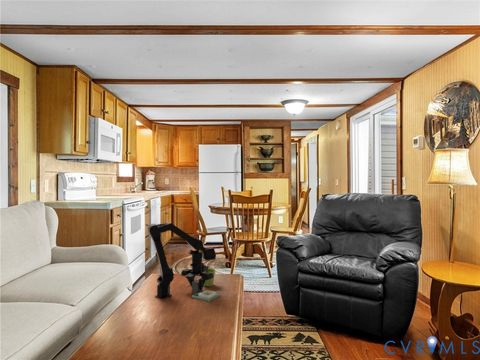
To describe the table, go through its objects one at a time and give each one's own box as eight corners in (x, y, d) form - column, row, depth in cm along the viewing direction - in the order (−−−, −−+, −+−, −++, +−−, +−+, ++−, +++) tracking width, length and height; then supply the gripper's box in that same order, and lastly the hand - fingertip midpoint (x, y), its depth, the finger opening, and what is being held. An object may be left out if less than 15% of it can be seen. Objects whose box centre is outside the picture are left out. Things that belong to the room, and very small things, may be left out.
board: (208, 301, 180) (208, 297, 180) (191, 297, 185) (191, 293, 185) (219, 295, 188) (219, 291, 188) (203, 292, 194) (203, 288, 194)
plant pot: (198, 283, 210) (198, 269, 210) (213, 282, 213) (213, 267, 213) (201, 288, 201) (201, 273, 201) (217, 286, 204) (217, 271, 204)
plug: (197, 293, 192) (197, 281, 192) (192, 292, 194) (191, 280, 194) (202, 291, 195) (202, 280, 195) (196, 290, 198) (196, 279, 197)
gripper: (219, 260, 197) (219, 288, 197) (192, 256, 206) (193, 283, 206) (207, 264, 187) (207, 293, 187) (180, 260, 197) (180, 288, 197)
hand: (197, 289), depth 195 cm, fingers open, 5 cm apart
